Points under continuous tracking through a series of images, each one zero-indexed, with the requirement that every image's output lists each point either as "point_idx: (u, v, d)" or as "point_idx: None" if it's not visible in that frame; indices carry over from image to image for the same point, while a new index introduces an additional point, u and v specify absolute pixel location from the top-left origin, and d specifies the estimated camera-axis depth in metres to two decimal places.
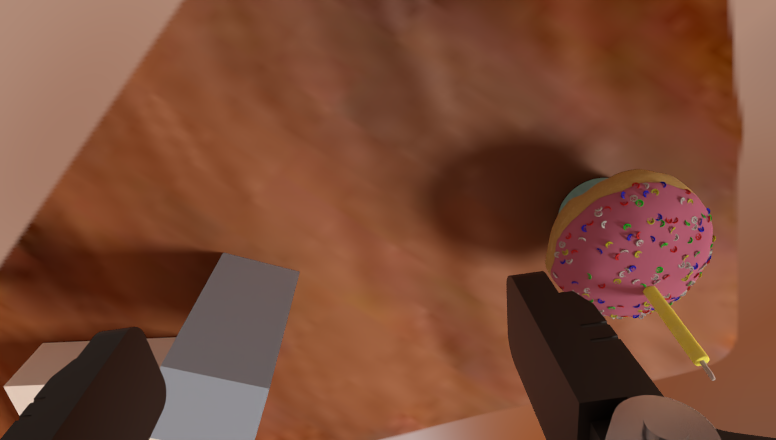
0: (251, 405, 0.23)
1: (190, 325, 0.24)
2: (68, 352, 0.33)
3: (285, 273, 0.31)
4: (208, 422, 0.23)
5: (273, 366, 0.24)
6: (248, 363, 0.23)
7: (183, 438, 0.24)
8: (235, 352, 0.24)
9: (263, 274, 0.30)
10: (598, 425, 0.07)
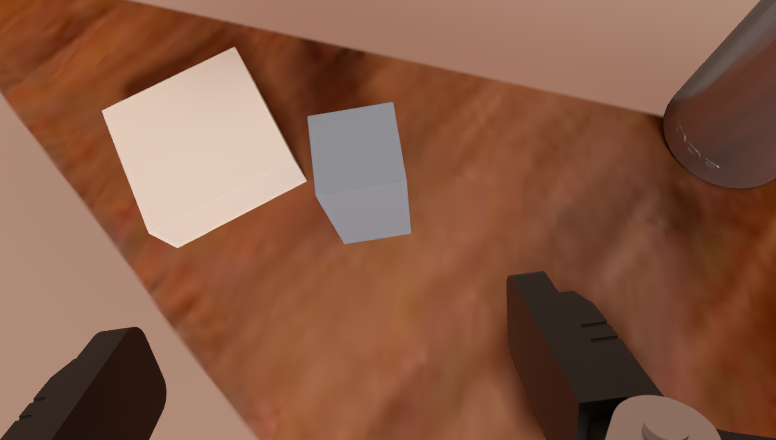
0: (380, 175, 0.26)
1: None
2: (259, 91, 0.39)
3: None
4: (345, 151, 0.27)
5: None
6: None
7: (317, 139, 0.27)
8: None
9: None
10: (598, 425, 0.07)
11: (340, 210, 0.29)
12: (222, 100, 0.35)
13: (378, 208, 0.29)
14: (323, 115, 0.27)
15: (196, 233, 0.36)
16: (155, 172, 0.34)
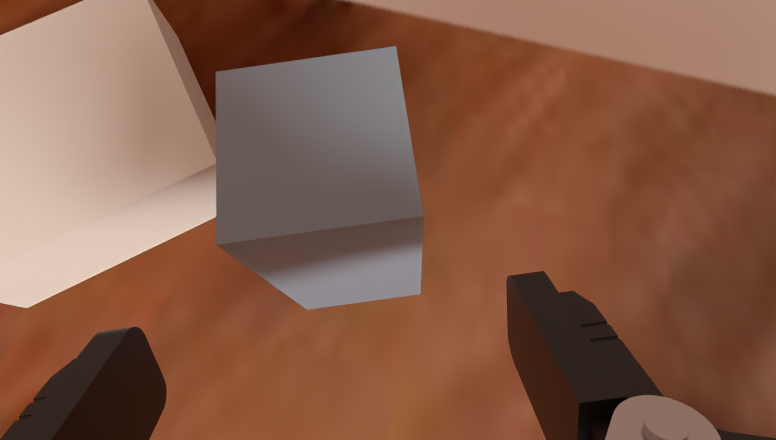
0: (365, 201, 0.12)
1: None
2: (182, 55, 0.24)
3: None
4: (289, 145, 0.12)
5: None
6: None
7: (231, 119, 0.13)
8: None
9: None
10: (598, 425, 0.07)
11: (283, 267, 0.14)
12: (107, 62, 0.21)
13: (362, 263, 0.15)
14: (249, 70, 0.13)
15: (56, 285, 0.21)
16: None
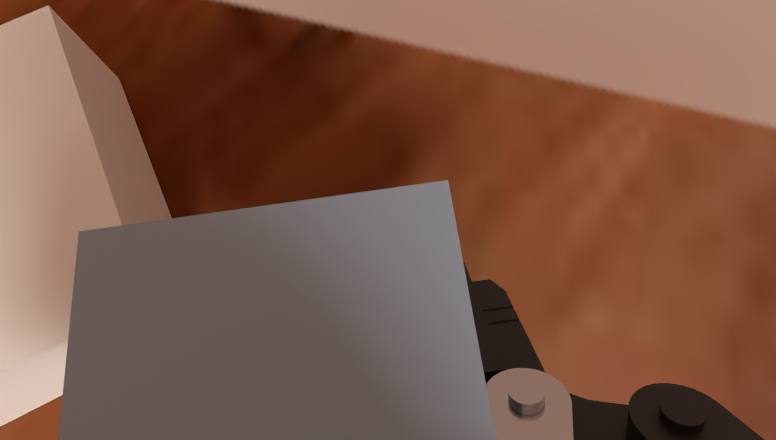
0: None
1: None
2: (120, 109, 0.18)
3: None
4: (221, 421, 0.06)
5: None
6: None
7: (100, 347, 0.06)
8: None
9: None
10: None
11: None
12: None
13: None
14: (146, 230, 0.06)
15: None
16: None
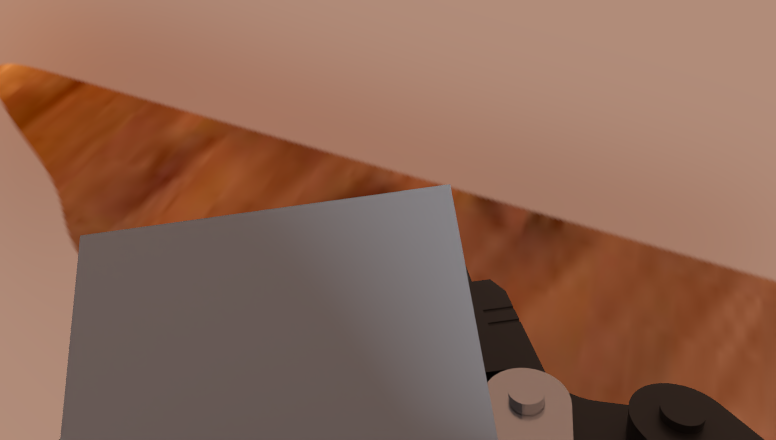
0: None
1: None
2: None
3: None
4: (223, 426, 0.05)
5: None
6: None
7: (102, 352, 0.06)
8: None
9: None
10: None
11: None
12: None
13: None
14: (148, 235, 0.06)
15: None
16: None
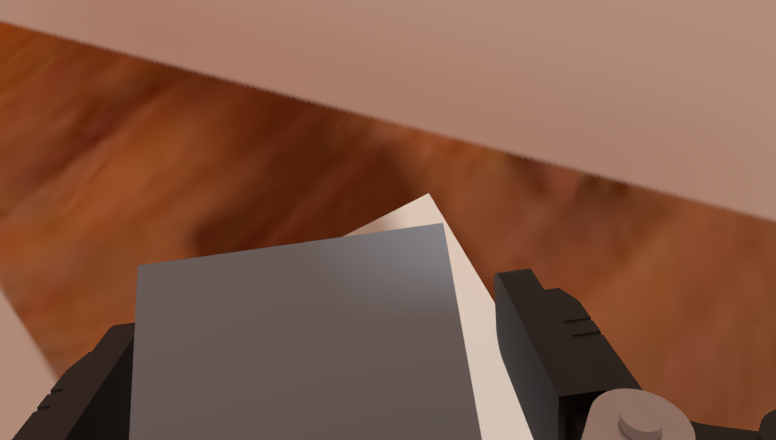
0: None
1: None
2: None
3: None
4: (260, 422, 0.07)
5: None
6: None
7: (160, 362, 0.07)
8: None
9: None
10: (577, 418, 0.07)
11: None
12: None
13: None
14: (194, 265, 0.08)
15: None
16: None
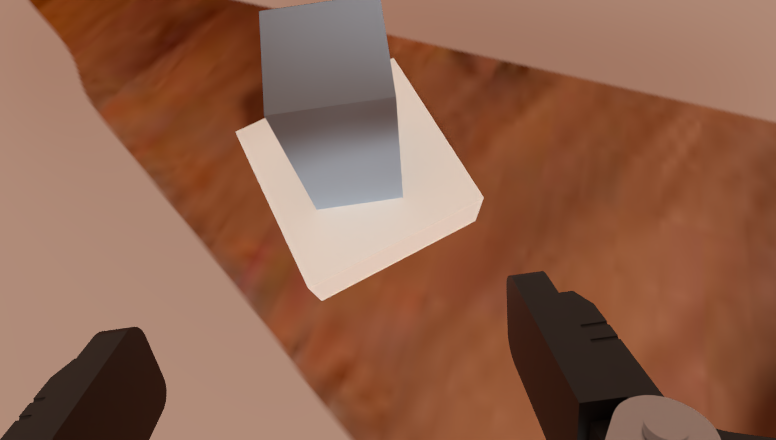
0: (359, 89, 0.18)
1: None
2: None
3: None
4: (309, 56, 0.19)
5: None
6: None
7: (271, 40, 0.19)
8: None
9: None
10: (598, 425, 0.07)
11: (304, 147, 0.20)
12: None
13: (358, 148, 0.21)
14: (281, 10, 0.20)
15: (348, 284, 0.29)
16: (309, 210, 0.27)
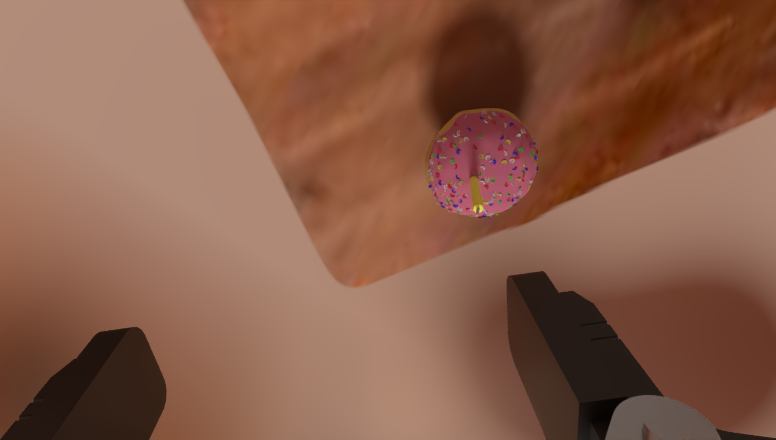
0: None
1: None
2: None
3: None
4: None
5: None
6: None
7: None
8: None
9: None
10: (598, 425, 0.07)
11: None
12: None
13: None
14: None
15: None
16: None
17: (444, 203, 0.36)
